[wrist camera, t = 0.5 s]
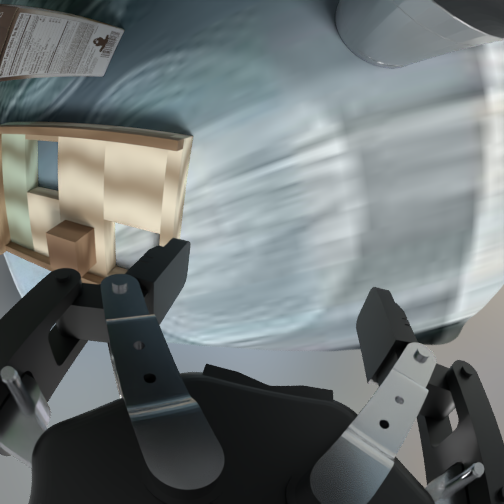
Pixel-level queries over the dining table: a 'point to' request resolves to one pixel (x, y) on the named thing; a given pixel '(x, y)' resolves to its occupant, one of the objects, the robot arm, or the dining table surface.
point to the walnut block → (71, 246)
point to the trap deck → (90, 187)
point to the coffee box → (53, 43)
